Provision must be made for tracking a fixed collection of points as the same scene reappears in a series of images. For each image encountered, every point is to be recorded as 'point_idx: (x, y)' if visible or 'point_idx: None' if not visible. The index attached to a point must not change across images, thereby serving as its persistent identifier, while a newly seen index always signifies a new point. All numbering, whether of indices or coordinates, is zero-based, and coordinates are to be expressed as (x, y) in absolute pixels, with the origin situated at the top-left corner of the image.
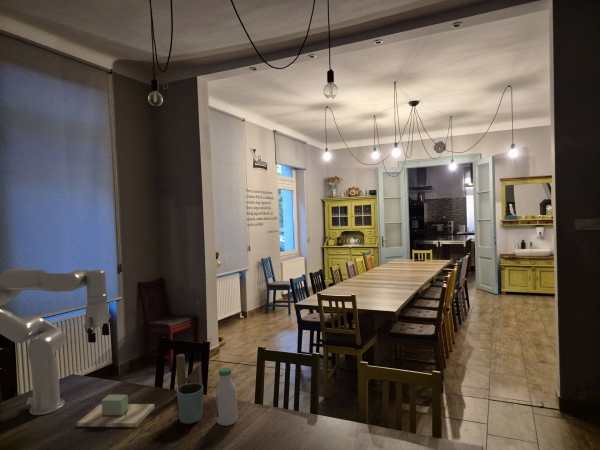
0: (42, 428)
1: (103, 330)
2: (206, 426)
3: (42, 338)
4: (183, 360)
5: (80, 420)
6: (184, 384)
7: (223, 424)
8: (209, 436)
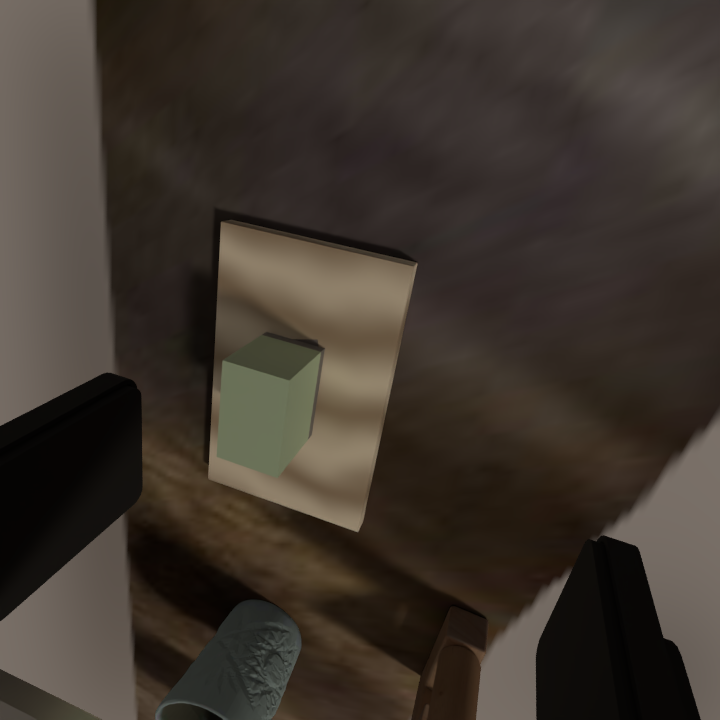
0: (221, 22)
1: (584, 673)
2: None
3: None
4: None
5: (238, 233)
6: None
7: None
8: (165, 655)
